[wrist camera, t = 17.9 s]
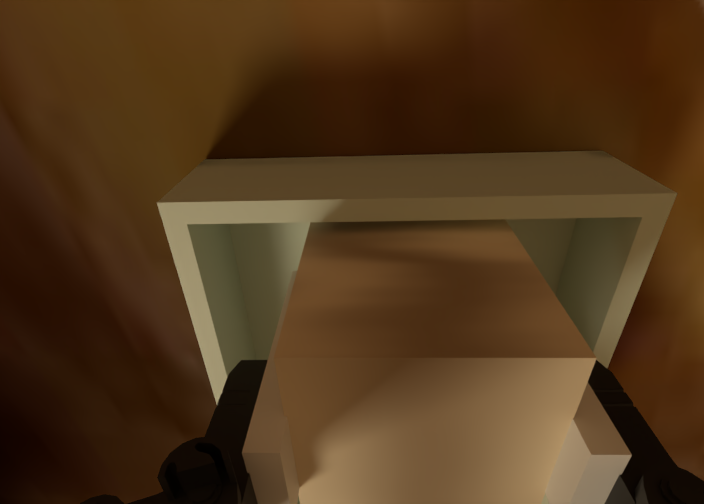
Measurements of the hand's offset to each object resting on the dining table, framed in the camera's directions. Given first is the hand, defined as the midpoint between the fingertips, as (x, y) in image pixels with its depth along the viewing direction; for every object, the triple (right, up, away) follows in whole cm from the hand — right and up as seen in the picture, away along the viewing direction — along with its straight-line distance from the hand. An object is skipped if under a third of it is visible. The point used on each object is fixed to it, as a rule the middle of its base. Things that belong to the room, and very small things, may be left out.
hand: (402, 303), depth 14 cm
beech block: (0, 0, 0) cm, 0 cm away
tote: (0, -3, +6) cm, 6 cm away
